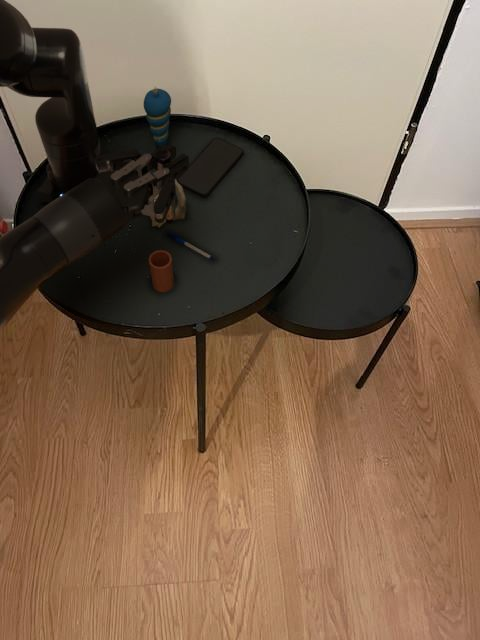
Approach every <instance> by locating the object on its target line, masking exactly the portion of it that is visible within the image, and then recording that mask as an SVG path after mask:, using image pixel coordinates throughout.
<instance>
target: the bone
mask: <svg viewBox="0 0 480 640" xmlns="http://www.w3.org/2000/svg"><path fill="white" fill-rule="evenodd" d="M175 187H176V195H175V197H176V198H177V205H176V207H175V212H176V216H175V217H174V218H173V221H177V220H184V219H185V216H186V211H187V210H186V209H187V207H186V199H187V198H186V193H185V192H184V191H185V190H184V188H183V187H182V186H181V185H180V184H179V183H178V182H177V178H176V179H175ZM158 196H159V193H158V195H157V196H156V197H154V198H153V199H157V198H158ZM153 199H151V200H149V201H148V205H149V204H150V203H151V202H152V201H153ZM149 218H150V220H151V226H152V228H153V227H157V228H160V227H161V226H162V225H164V224H165V223H167V222H166V219H165V220H164V222H162V223H157V222H156V221H155V217H151V216H149Z"/></svg>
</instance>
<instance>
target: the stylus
mask: <svg viewBox="0 0 480 640" xmlns="http://www.w3.org/2000/svg"><path fill="white" fill-rule="evenodd" d="M157 150H158V149H157ZM171 161H172V160H171V153H170V151H168V150H166V149H161V150H158V151H157V152H156V162H157V170H156V171H158V170H160V169H161V168H164V167H165V165H166V164H168V163H170V162H171ZM175 202H176V201H175V198H174V199H173V202H172V204H171V206H170V209H169V211H168V213H167V215H166V218H165V219H166V222H165V223H167V224H169V225H171V224H173V222H174V220H173V218H174V217H175V216H176V212H175V209H176V203H175Z"/></svg>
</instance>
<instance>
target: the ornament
mask: <svg viewBox="0 0 480 640" xmlns="http://www.w3.org/2000/svg"><path fill="white" fill-rule="evenodd" d="M171 106H172V97H171V95H170V93H168V91H166V90H165V89H162V88H157V87H153V88H152V89H150V90H148V91H147V92H146V94H145V96H144V99H143V109H144V112H145V113H146V116H145V118H146V120H147V122H148V124H149V129H150V132H151V134H152V139H153V141H154V144H156V145H157V147H158V149H159V148H160V147H162V146H164V145H167V142H168V139H169V135H170V134H169V128H170V117H171V113H172V108H171Z"/></svg>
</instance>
